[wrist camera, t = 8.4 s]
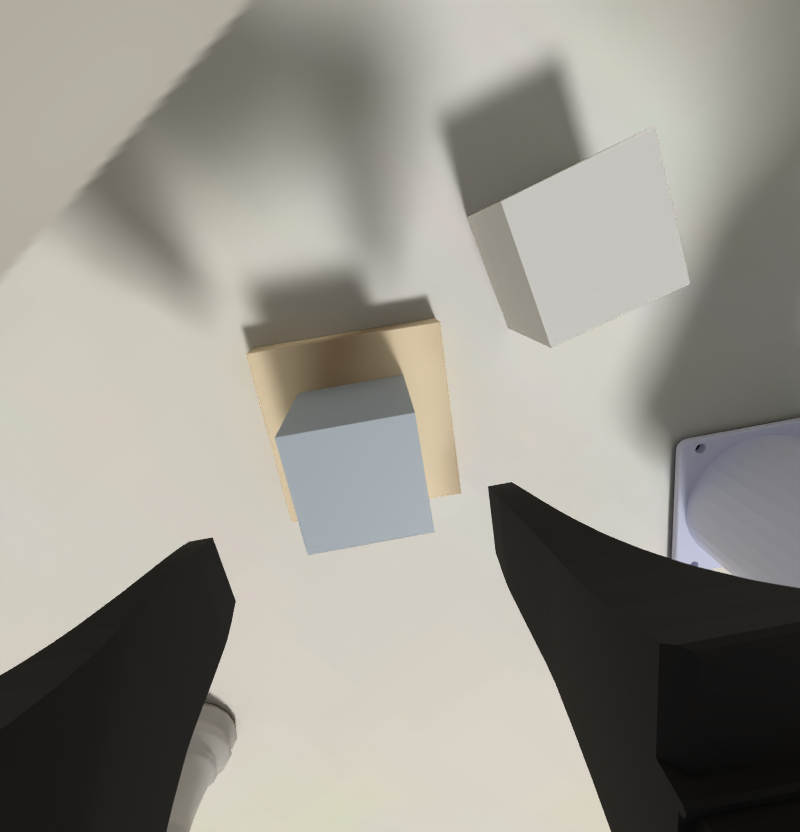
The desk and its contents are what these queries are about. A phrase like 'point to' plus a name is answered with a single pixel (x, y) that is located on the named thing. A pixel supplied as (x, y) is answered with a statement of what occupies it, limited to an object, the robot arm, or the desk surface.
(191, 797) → the rook chess piece
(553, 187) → the grey cube
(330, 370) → the maple block
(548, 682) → the desk surface
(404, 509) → the slate block
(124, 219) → the desk surface
